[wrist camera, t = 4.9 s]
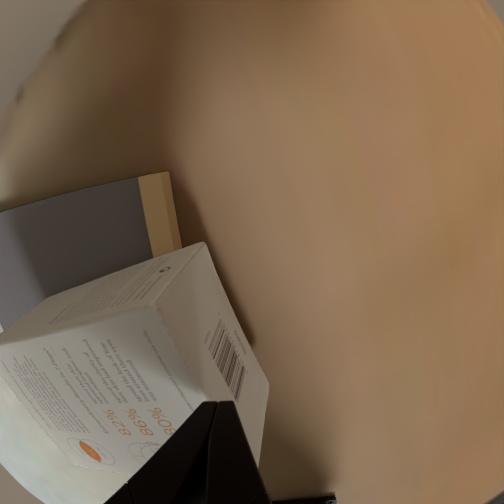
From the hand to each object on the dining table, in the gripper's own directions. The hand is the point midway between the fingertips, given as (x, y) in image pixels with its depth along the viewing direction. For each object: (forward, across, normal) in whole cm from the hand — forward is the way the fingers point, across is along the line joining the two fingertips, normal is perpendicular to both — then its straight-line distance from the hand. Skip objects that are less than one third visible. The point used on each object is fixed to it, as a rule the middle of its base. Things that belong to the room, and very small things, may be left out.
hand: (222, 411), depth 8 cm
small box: (+3, 0, +1) cm, 3 cm away
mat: (+8, +10, 0) cm, 12 cm away
